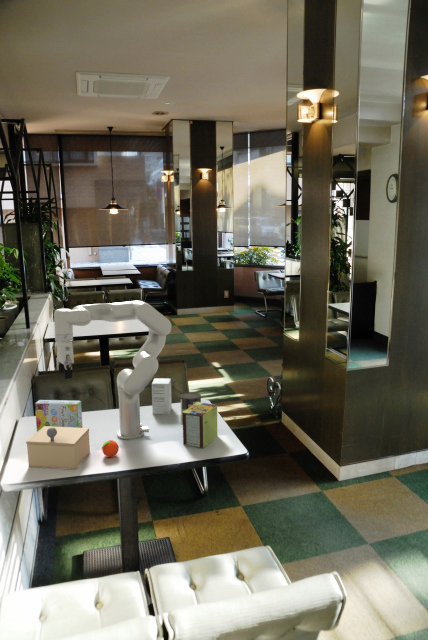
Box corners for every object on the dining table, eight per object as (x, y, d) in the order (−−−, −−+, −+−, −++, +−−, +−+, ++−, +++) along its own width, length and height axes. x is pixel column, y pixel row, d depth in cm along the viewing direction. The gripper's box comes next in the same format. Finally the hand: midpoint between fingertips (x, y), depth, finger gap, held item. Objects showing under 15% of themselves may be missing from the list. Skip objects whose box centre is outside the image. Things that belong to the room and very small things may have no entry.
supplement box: (154, 407, 276) (154, 377, 273) (171, 407, 276) (171, 378, 273) (152, 414, 266) (151, 383, 263) (169, 414, 266) (169, 383, 263)
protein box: (217, 435, 238) (217, 404, 236) (203, 448, 225) (202, 415, 222) (197, 432, 243) (197, 401, 240) (182, 444, 229) (181, 412, 226)
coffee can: (205, 423, 253) (204, 396, 251) (186, 427, 248) (186, 400, 246) (195, 417, 262) (194, 390, 260) (177, 421, 257) (176, 394, 254)
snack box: (83, 429, 247) (81, 400, 244) (79, 434, 241) (77, 404, 239) (41, 428, 249) (39, 399, 246) (36, 433, 244) (33, 403, 241)
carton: (89, 452, 222) (88, 430, 220) (75, 469, 206) (74, 446, 204) (46, 450, 224) (44, 428, 223) (28, 467, 209) (27, 444, 207)
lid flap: (89, 430, 220) (88, 416, 219) (74, 446, 204) (73, 430, 203) (44, 428, 223) (43, 414, 221) (26, 443, 207) (25, 428, 206)
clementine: (106, 462, 212) (106, 446, 211) (97, 457, 217) (96, 441, 216) (122, 455, 218) (121, 440, 217) (112, 451, 223) (112, 435, 222)
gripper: (78, 340, 215) (79, 379, 218) (67, 333, 230) (68, 369, 232) (60, 341, 211) (62, 381, 214) (50, 334, 226) (51, 371, 229)
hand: (65, 375), depth 223 cm, fingers open, 9 cm apart
